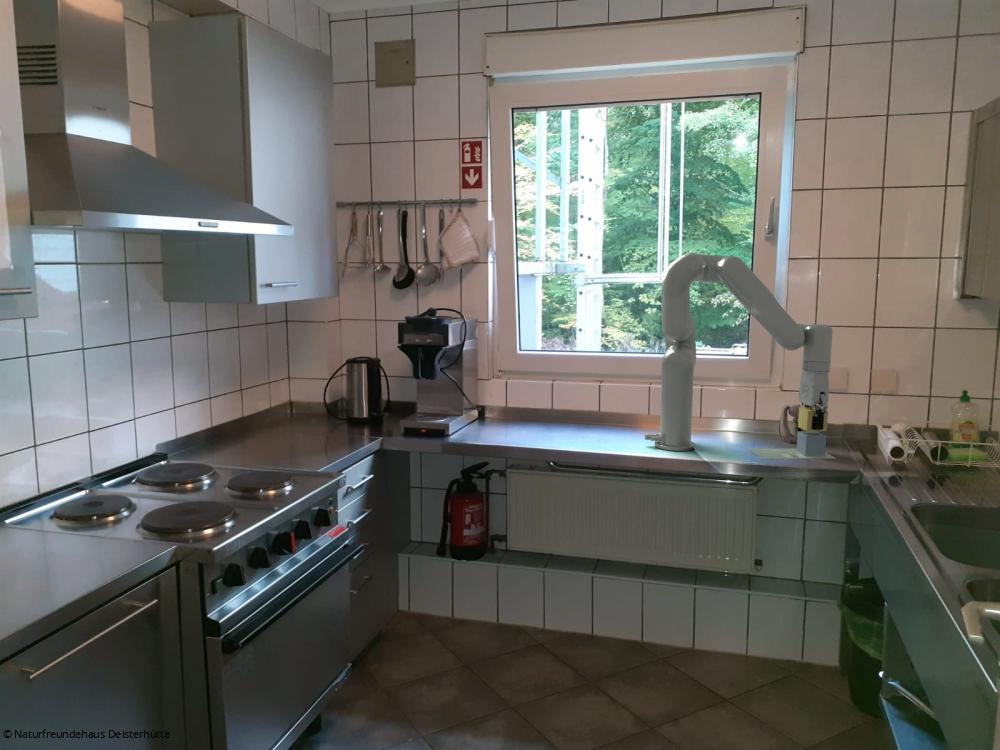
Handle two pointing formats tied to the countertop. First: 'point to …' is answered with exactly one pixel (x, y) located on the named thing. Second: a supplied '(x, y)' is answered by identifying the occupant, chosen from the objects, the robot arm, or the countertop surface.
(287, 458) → the countertop surface
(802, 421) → the brick
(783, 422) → the toy
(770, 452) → the board
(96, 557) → the countertop surface
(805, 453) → the base brick
